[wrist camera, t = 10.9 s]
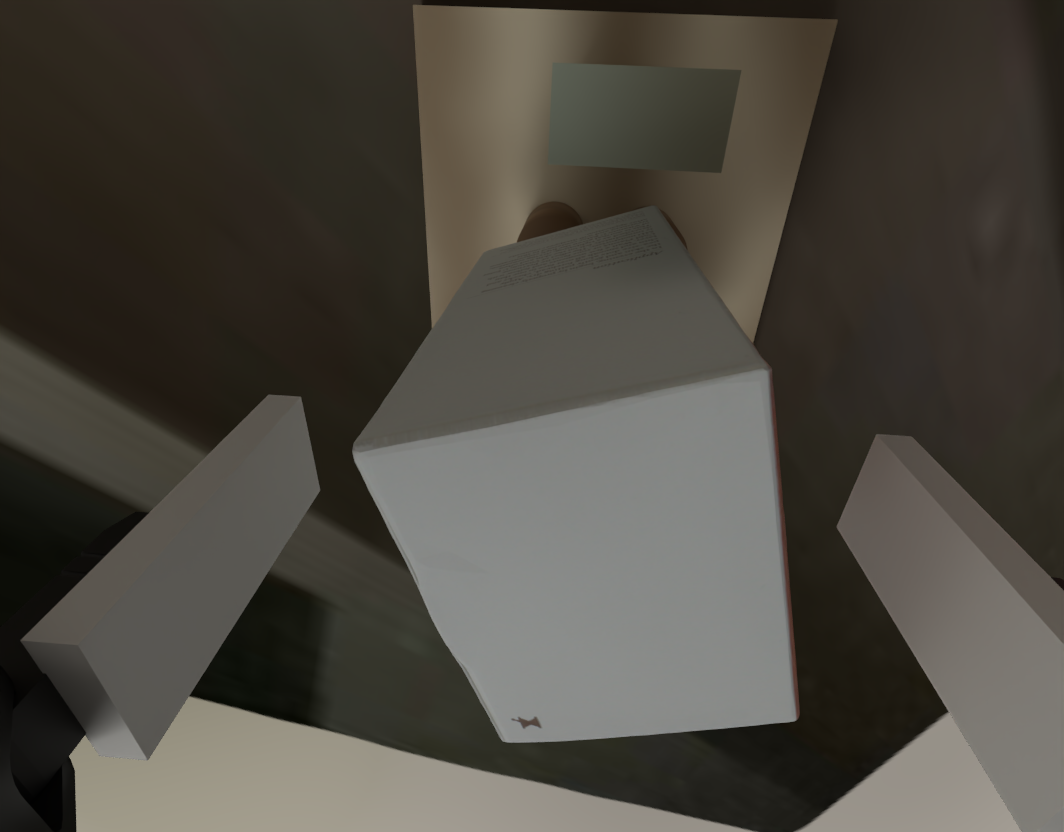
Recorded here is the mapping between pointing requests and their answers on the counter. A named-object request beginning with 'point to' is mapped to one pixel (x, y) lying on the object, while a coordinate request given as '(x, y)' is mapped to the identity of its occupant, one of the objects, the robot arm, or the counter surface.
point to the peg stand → (614, 132)
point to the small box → (594, 491)
